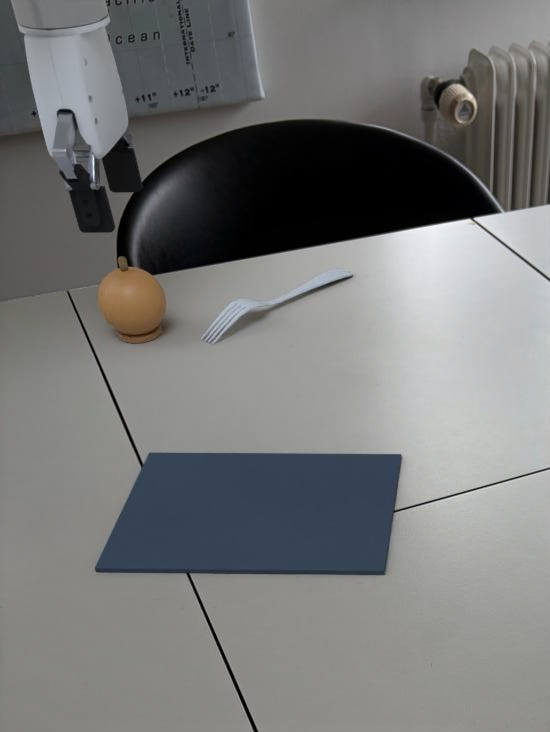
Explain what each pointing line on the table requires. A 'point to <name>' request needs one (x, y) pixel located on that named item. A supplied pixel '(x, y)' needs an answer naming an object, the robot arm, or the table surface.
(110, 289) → the orange ball with stem
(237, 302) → the fork
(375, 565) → the mat
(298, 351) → the table surface
